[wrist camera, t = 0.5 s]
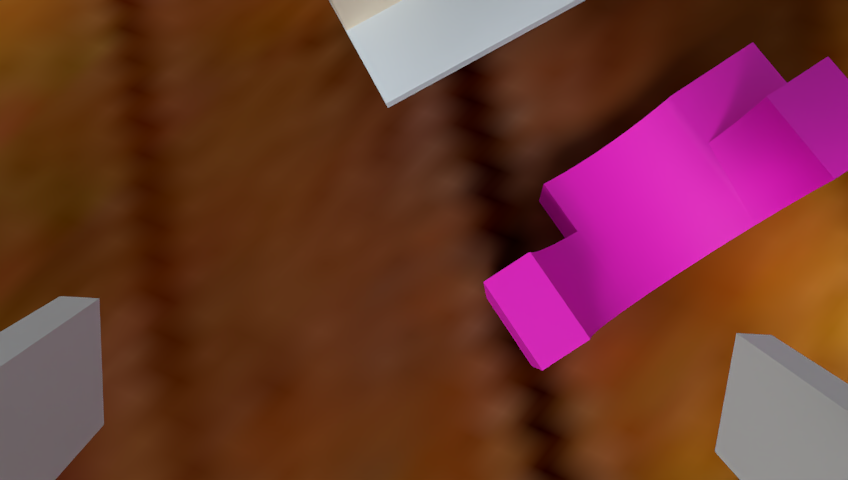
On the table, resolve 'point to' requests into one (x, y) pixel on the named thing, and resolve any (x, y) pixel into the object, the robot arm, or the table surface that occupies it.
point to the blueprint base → (434, 36)
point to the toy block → (672, 196)
